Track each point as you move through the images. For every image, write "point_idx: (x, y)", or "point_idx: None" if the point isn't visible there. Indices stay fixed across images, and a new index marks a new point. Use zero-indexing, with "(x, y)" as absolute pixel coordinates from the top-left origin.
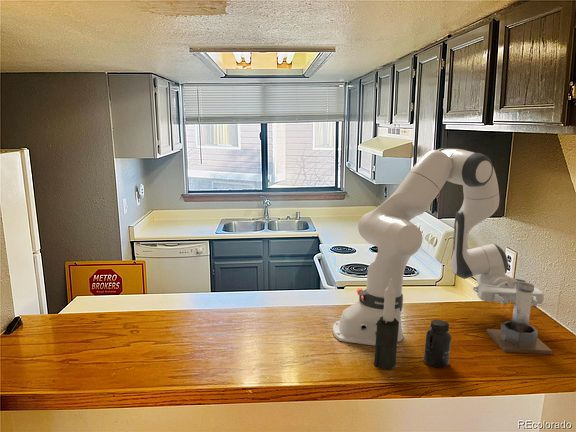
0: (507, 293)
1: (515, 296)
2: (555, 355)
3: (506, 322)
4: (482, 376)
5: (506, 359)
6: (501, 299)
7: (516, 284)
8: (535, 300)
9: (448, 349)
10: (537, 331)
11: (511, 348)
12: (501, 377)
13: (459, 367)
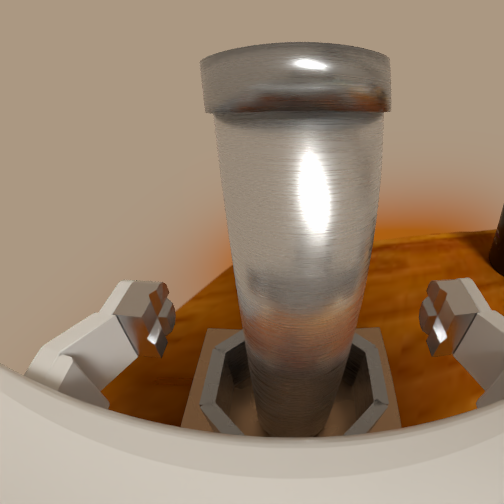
0: (428, 424)
1: (377, 202)
2: (201, 333)
3: (349, 434)
4: (431, 241)
5: (379, 298)
6: (475, 300)
7: (388, 67)
8: (131, 284)
9: (499, 221)
10: (220, 344)
11: (356, 329)
12: (400, 241)
13: (471, 258)
